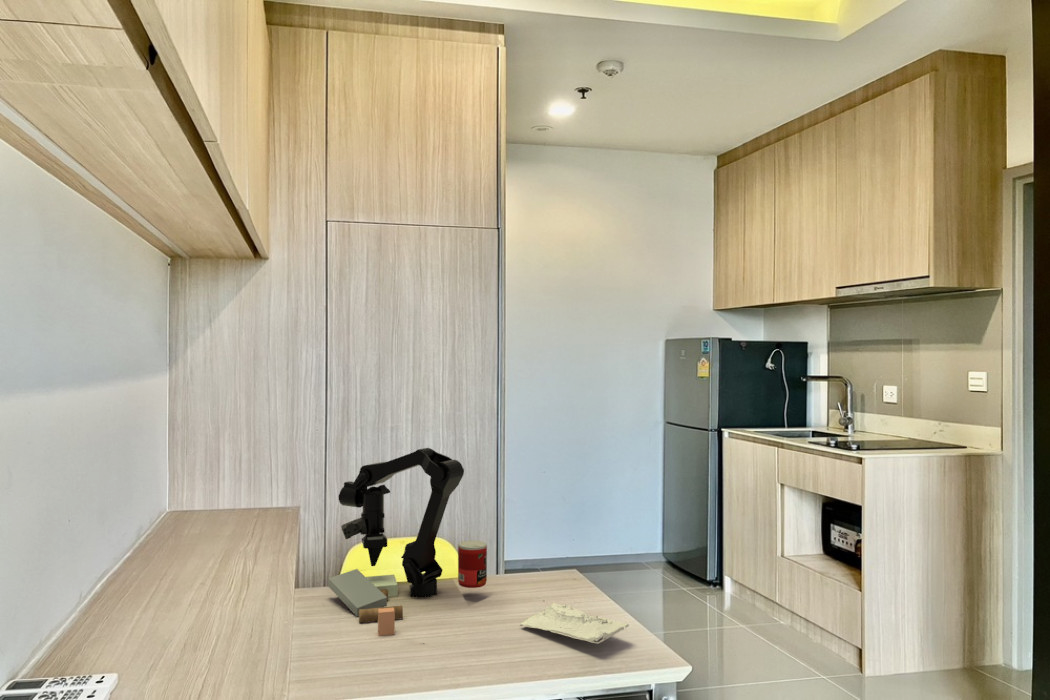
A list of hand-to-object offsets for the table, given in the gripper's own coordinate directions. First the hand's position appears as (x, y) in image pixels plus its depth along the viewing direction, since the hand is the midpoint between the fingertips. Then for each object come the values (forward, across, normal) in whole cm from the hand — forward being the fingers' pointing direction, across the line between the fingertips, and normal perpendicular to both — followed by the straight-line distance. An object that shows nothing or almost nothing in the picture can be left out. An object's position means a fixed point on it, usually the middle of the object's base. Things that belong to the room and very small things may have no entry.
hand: (373, 565), depth 196 cm
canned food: (+5, +8, +26) cm, 28 cm away
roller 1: (+3, +13, -3) cm, 13 cm away
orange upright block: (+5, +37, 0) cm, 37 cm away
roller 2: (+5, +28, 0) cm, 28 cm away
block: (+5, +8, 0) cm, 9 cm away
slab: (+3, +16, -5) cm, 17 cm away
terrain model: (+6, +44, +43) cm, 62 cm away
